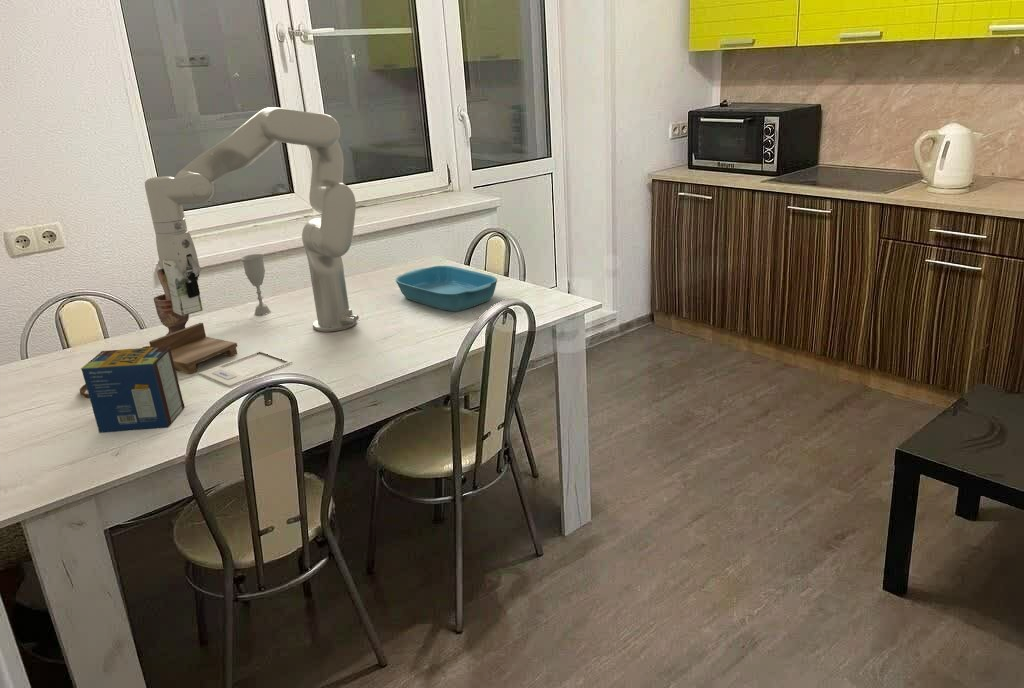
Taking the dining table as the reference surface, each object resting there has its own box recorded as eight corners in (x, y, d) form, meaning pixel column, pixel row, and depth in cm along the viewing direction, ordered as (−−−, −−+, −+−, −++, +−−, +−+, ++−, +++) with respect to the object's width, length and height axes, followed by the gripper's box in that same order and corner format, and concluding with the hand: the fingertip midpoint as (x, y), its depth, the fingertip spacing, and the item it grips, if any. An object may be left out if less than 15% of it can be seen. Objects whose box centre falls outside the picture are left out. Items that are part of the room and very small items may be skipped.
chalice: (269, 315, 238) (259, 259, 231) (248, 316, 238) (237, 260, 231) (276, 308, 244) (267, 253, 238) (255, 309, 245) (245, 254, 238)
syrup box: (194, 306, 204) (183, 253, 198) (203, 311, 200) (192, 257, 194) (173, 312, 200) (160, 258, 195) (182, 316, 196) (170, 261, 191)
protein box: (118, 412, 176) (101, 350, 171) (185, 407, 177) (170, 345, 171) (97, 433, 167) (79, 368, 161) (169, 428, 167) (153, 362, 161)
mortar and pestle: (153, 339, 223) (137, 273, 216) (180, 330, 229) (166, 265, 222) (172, 346, 216) (156, 278, 209) (200, 337, 222) (186, 271, 215)
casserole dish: (385, 297, 250) (383, 276, 247) (439, 281, 264) (437, 261, 261) (456, 320, 224) (454, 297, 222) (512, 301, 238) (510, 279, 235)
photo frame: (198, 371, 195) (260, 349, 208) (199, 375, 196) (261, 353, 208) (229, 384, 186) (291, 360, 199) (230, 388, 186) (292, 364, 199)
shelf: (238, 353, 208) (234, 329, 206) (189, 374, 195) (183, 349, 193) (205, 345, 215) (200, 322, 213) (155, 366, 202) (149, 341, 200)
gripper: (205, 226, 190) (219, 294, 197) (162, 221, 199) (176, 287, 205) (179, 232, 184) (194, 303, 191) (135, 227, 193) (151, 295, 199)
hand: (185, 294), depth 198 cm, fingers closed on syrup box, 6 cm apart
